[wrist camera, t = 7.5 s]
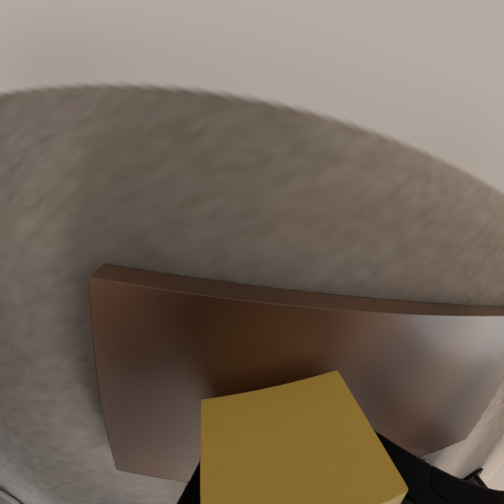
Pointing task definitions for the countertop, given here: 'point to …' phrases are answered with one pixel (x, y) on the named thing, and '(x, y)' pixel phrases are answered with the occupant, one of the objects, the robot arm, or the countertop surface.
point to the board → (280, 360)
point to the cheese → (294, 448)
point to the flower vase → (7, 499)
